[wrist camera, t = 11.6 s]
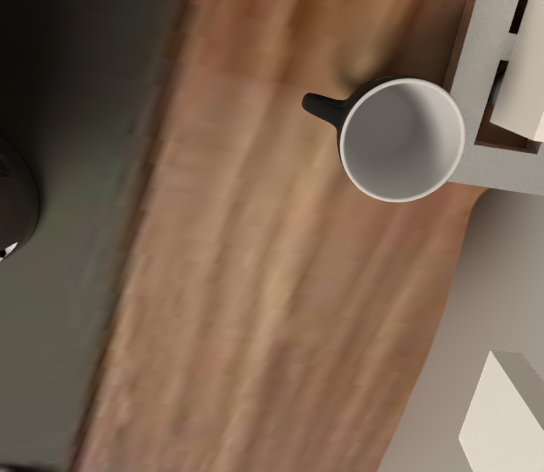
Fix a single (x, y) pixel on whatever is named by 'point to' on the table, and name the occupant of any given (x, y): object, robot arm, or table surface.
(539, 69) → the white block
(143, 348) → the table surface
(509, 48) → the rail
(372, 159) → the mug
